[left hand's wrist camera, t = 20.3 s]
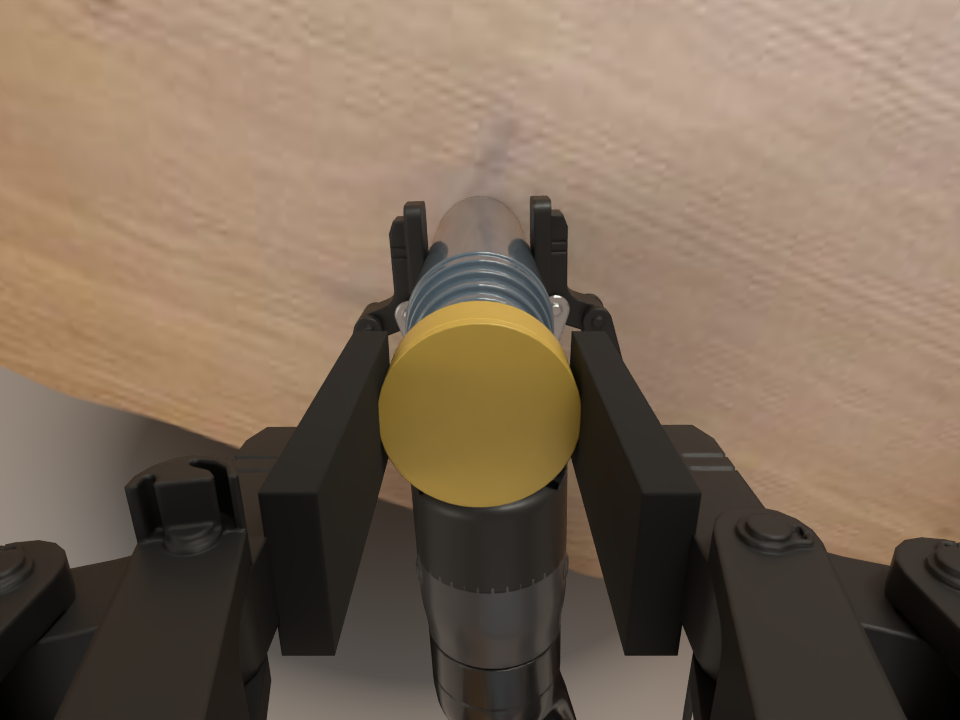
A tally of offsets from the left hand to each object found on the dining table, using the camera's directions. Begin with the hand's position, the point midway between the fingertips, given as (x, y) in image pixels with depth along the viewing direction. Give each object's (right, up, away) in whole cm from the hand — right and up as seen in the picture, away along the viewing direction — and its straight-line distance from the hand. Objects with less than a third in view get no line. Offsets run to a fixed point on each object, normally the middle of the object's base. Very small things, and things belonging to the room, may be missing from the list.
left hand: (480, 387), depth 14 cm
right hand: (0, +7, +11) cm, 13 cm away
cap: (0, -1, -1) cm, 1 cm away
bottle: (0, +7, +18) cm, 19 cm away
